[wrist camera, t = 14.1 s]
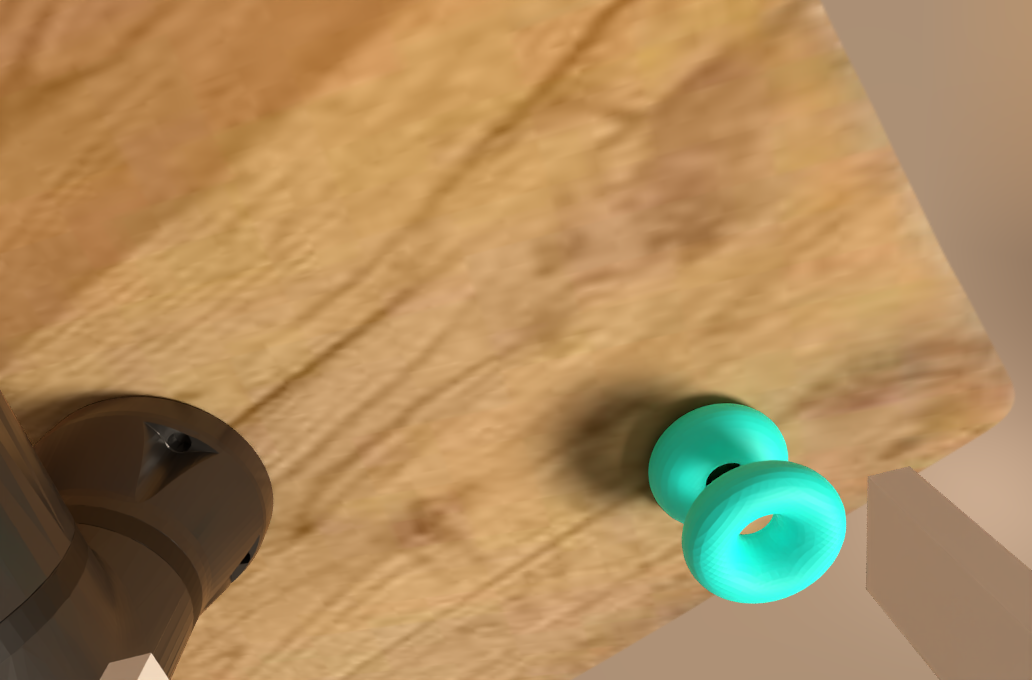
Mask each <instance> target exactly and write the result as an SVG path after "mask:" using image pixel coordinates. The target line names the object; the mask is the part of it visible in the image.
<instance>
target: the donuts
mask: <svg viewBox="0 0 1032 680" xmlns="http://www.w3.org/2000/svg"><path fill="white" fill-rule="evenodd" d="M728 463H738V464H740V466H739V467H736V468H734V469H732V470H730V471H728V472H726V473H724V474H723V475H721V476H719V477H718V478H716V479H715V480H714V481H713V482H711V483H710V484H709V485H706V480H707V478H708V476H709V475H710V473H711V472H712V471H713V470H715V469H716V468H717V467H719V466H721V465H724V464H728ZM648 476H649V484H650V488H651V491H652V493H653V496H654V498H655V500H656V501H657V503H658V504H659V506H660V507H661V508H662V509H663V510H664V511H665V512H666V513H667V514H668V515H669V516H671V517H672V518H674V519H675V520H677V521H679V522H681V523H683V524H684V526H683V532H682V549H683V554H684V558H685V561H686V564H687V566H688V568H689V570H690V571H691V573H692V575H693V576H694V577H695V579H696V580H697V581H698V582H699V583H700V584H701V585H702V586H703V587H704V588H706V589H707V590H708V591H710V592H712V593H713V594H715V595H717V596H720V597H721V598H724V599H727V600H730V601H734V602H740V603H755V604H756V603H766V602H772V601H776V600H780V599H782V598H786V597H789V596H791V595H793V594H796V593H797V592H799V591H801V590H803V589H805V588H806V587H808V586H809V585H811V584H812V583H814V582H815V581H816V580H817V579H818V578H820V577H821V576H822V575H823V574H824V573H825V572H826V571H827V569H828V568H829V567H830V566H831V565H832V563H833V562H834V560H835V559H836V557H837V555H838V553H839V551H840V549H841V546H842V544H843V541H844V538H845V532H846V516H845V510H844V506H843V503H842V501H841V499H840V497H839V495H838V493H837V491H836V490H835V489H834V487H833V486H832V485H831V484H830V483H829V482H828V481H827V480H826V479H825V478H824V477H823V476H821V475H820V474H818V473H817V472H815V471H814V470H812V469H810V468H808V467H806V466H803V465H800V464H797V463H793V462H788V452H787V446H786V443H785V440H784V438H783V436H782V434H781V432H780V430H779V429H778V427H777V426H776V425H775V424H774V423H773V422H772V421H771V420H770V419H769V418H768V417H767V416H766V415H764V414H763V413H761V412H759V411H757V410H755V409H753V408H751V407H748V406H745V405H740V404H732V403H720V404H712V405H707V406H703V407H700V408H697V409H695V410H693V411H690V412H688V413H687V414H685V415H683V416H682V417H680V418H679V419H677V420H676V421H675V422H674V423H672V424H671V425H670V426H669V427H668V428H667V429H666V430H665V431H664V433H663V434H662V435H661V436H660V438H659V439H658V441H657V443H656V445H655V447H654V449H653V451H652V454H651V457H650V461H649V468H648ZM770 514H774V515H773V517H772V519H771V521H770V522H769V523H768V524H767V525H766V526H765V527H764V528H763V529H761V530H759V531H757V532H755V533H751V534H745V535H743V534H740V532H741V531H742V530H743V529H744V528H745V527H746V526H747V525H748V524H749V523H751V522H753V521H754V520H756V519H758V518H760V517H763V516H766V515H770Z"/></svg>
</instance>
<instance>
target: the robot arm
mask: <svg viewBox="0 0 1032 680" xmlns="http://www.w3.org/2000/svg"><path fill="white" fill-rule="evenodd" d="M272 511H273V493H272V487H271V482H270V479H269V476H268V473H267V471H266V469H265V467H264V465H263V463H262V461H261V460H260V458H259V456H258V455H257V454H256V452H255V451H254V449H253V448H252V447H251V446H250V445H249V444H248V442H247V441H246V440H245V439H244V438H243V437H242V436H240V435H239V434H238V433H237V432H236V431H235V430H233V429H232V428H231V427H229V426H228V425H227V424H225V423H224V422H222V421H221V420H219V419H217V418H215V417H214V416H212V415H210V414H208V413H206V412H204V411H202V410H199V409H197V408H194V407H192V406H189V405H186V404H182V403H179V402H175V401H171V400H166V399H160V398H152V397H122V398H114V399H109V400H104V401H100V402H97V403H94V404H91V405H88V406H86V407H83V408H81V409H79V410H77V411H75V412H74V413H72V414H70V415H69V416H67V417H66V418H64V419H63V420H62V421H61V422H59V423H58V424H57V425H56V426H55V427H54V428H53V429H52V430H50V431H49V432H48V433H47V434H46V435H45V436H44V437H43V438H42V439H41V440H40V441H39V442H38V443H36V445H35V446H34V447H33V446H32V445H31V443H30V441H29V439H28V438H27V436H26V434H25V432H24V431H23V429H22V427H21V425H20V423H19V422H18V420H17V418H16V416H15V415H14V413H13V411H12V409H11V408H10V406H9V404H8V402H7V401H6V399H5V397H4V395H3V394H2V392H1V390H0V680H171V677H172V675H173V673H174V671H175V668H176V666H177V664H178V662H179V659H180V657H181V655H182V653H183V650H184V648H185V646H186V644H187V642H188V639H189V637H190V635H191V632H192V630H193V628H194V626H195V624H196V622H197V620H198V618H199V616H200V615H201V614H202V613H203V612H204V611H205V610H206V609H207V608H208V607H209V606H210V605H211V604H212V603H213V602H214V601H215V600H216V599H217V598H218V597H219V596H220V595H221V594H222V593H223V592H224V591H225V590H226V589H227V587H228V586H229V585H230V584H231V583H232V582H233V581H234V580H235V579H236V578H237V577H238V576H239V575H240V574H241V573H242V572H243V571H244V570H245V569H246V568H247V567H248V566H249V564H250V563H251V562H252V560H253V559H254V557H255V555H256V554H257V552H258V550H259V548H260V546H261V544H262V541H263V539H264V536H265V534H266V531H267V529H268V526H269V523H270V520H271V516H272ZM866 565H867V566H866V590H867V591H868V592H869V593H870V594H871V596H872V597H873V598H874V599H875V601H876V602H877V603H878V604H879V606H880V607H881V608H882V609H883V610H884V612H885V613H886V614H887V615H888V617H889V618H890V619H891V620H892V622H893V623H894V624H895V625H896V627H897V628H898V629H899V630H900V631H901V633H902V634H903V635H904V636H905V638H906V639H907V640H908V641H909V643H910V644H911V645H912V646H913V647H914V649H915V650H916V651H917V652H918V654H919V655H920V656H921V657H922V659H923V660H924V661H925V662H926V663H927V665H928V666H929V667H930V669H931V670H932V671H933V672H934V673H935V675H936V676H937V677H938V678H939V680H1032V570H1031V569H1029V568H1028V567H1027V566H1026V565H1024V564H1023V563H1022V562H1021V561H1020V560H1019V559H1018V558H1016V557H1015V556H1014V555H1013V554H1012V553H1010V552H1009V551H1008V550H1007V549H1006V548H1005V547H1004V546H1002V545H1001V544H1000V543H999V542H998V541H996V540H995V539H994V538H993V537H992V536H991V535H989V534H988V533H987V532H986V531H985V530H983V529H982V528H981V527H980V526H979V525H978V524H977V523H975V522H974V521H973V520H972V519H971V518H969V517H968V516H967V515H966V514H965V513H964V512H962V511H961V510H960V509H959V508H958V507H956V506H955V505H954V504H953V503H952V502H951V501H950V500H948V499H947V498H946V497H945V496H943V494H941V493H940V492H939V491H938V490H936V489H935V488H934V487H933V486H932V485H931V484H930V483H928V482H927V481H926V480H925V479H924V478H923V477H921V476H920V475H919V474H918V473H917V472H916V471H914V470H913V469H912V468H911V467H910V466H909V467H905V468H901V469H897V470H893V471H889V472H884V473H880V474H876V475H872V476H868V500H867V563H866Z"/></svg>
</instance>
